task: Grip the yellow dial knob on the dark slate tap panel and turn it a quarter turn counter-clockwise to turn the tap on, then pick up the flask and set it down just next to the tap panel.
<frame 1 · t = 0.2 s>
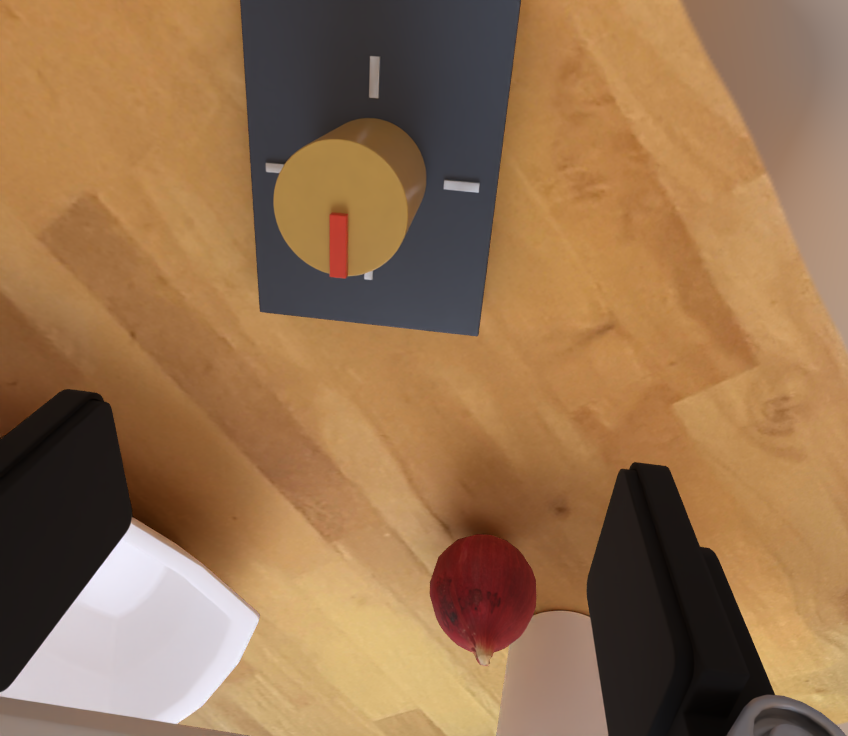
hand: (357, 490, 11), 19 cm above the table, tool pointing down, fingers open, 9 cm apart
onion: (484, 539, 37), on the table
yellow dial knob: (356, 193, 22), point 6 cm above the table, hinge at 0.0°
tap panel: (384, 163, 27), on the table
bowl: (90, 543, 41), on the table
cup: (560, 640, 41), on the table
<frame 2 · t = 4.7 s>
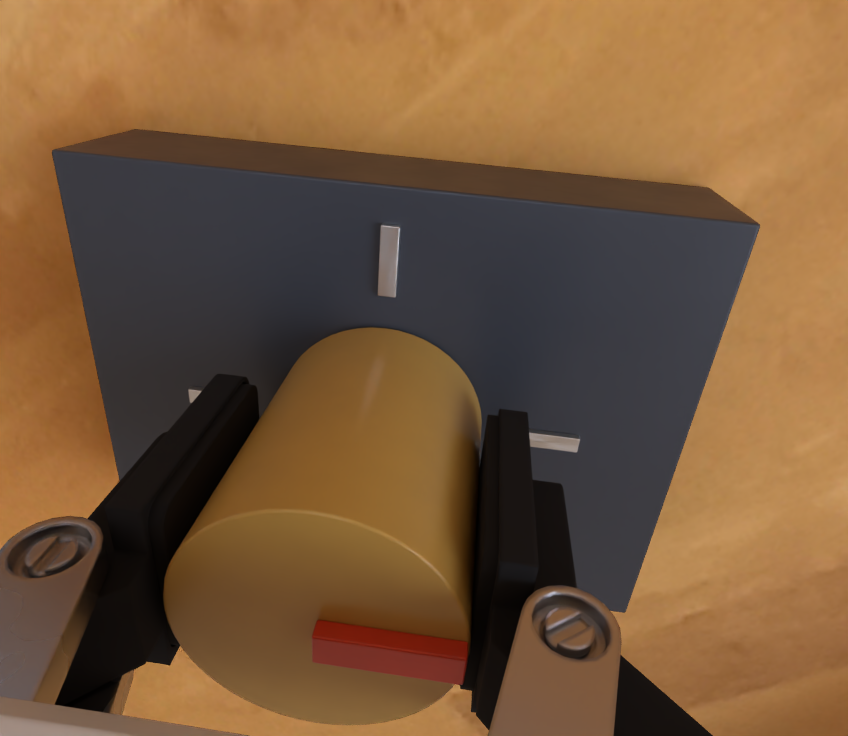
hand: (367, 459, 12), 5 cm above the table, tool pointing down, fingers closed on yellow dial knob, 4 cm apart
yellow dial knob: (352, 506, 11), point 6 cm above the table, hinge at 0.0°, touching gripper
tap panel: (400, 354, 16), on the table
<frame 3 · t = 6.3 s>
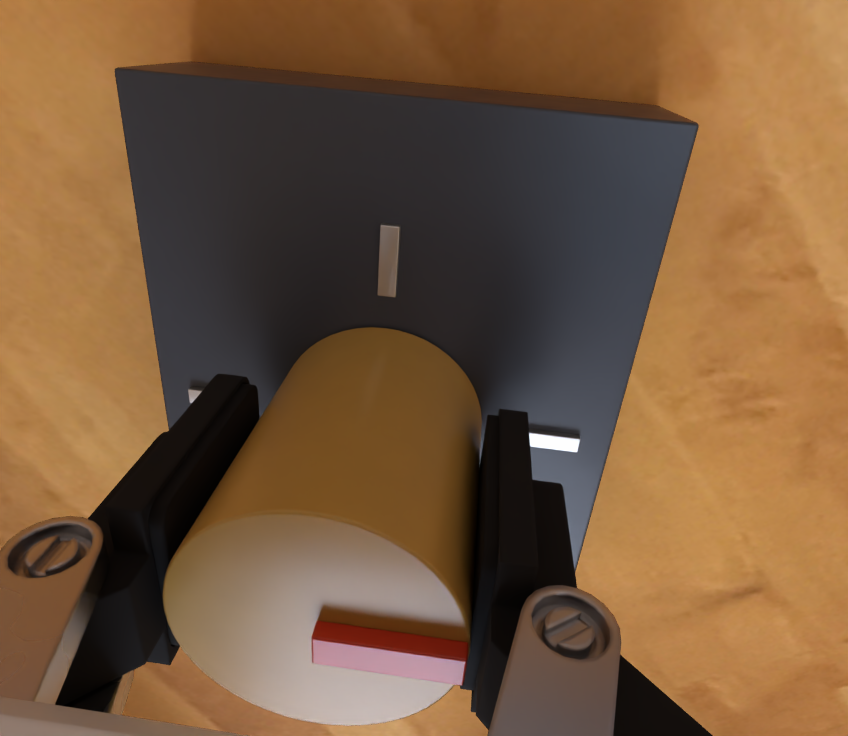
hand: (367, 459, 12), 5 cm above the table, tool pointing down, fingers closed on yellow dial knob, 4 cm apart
yellow dial knob: (352, 507, 11), point 6 cm above the table, hinge at 90.2°, touching gripper
tap panel: (400, 354, 16), on the table
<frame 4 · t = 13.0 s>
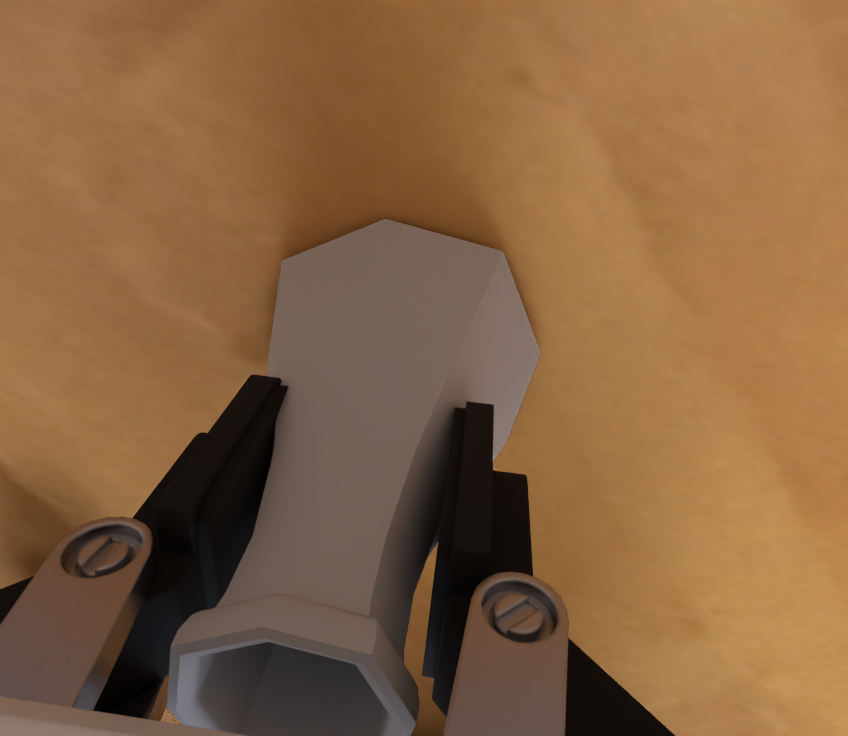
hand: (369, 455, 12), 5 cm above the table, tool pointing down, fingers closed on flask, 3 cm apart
flask: (403, 348, 16), on the table, touching gripper
when the fingers open (5 cm above the table, at t = 20.8 s): flask stays where it is, on the table.
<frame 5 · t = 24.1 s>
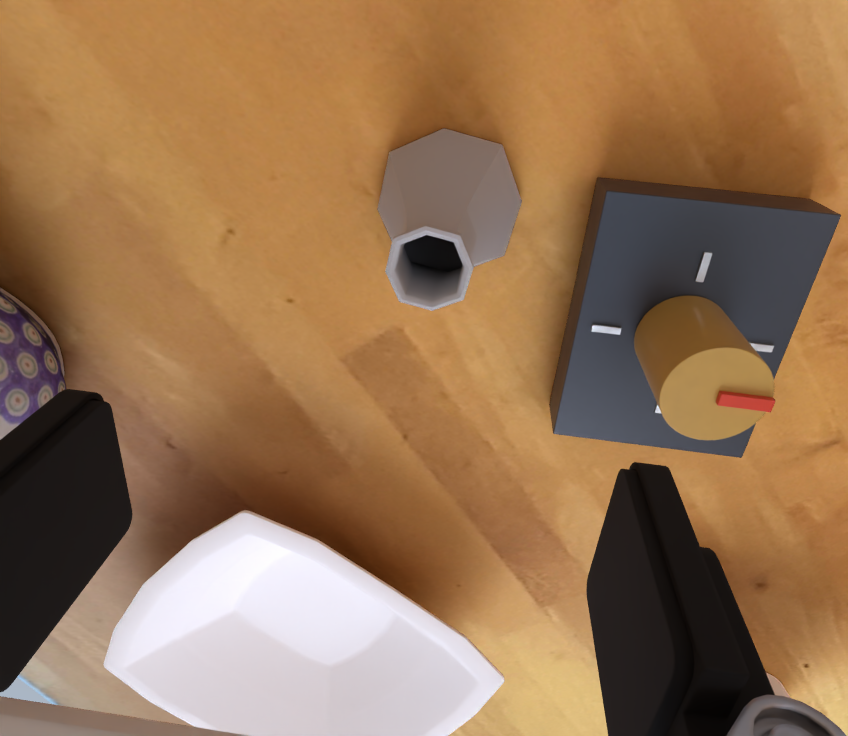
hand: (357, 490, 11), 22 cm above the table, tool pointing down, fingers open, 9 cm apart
yellow dial knob: (697, 365, 27), point 6 cm above the table, hinge at 89.7°
flask: (449, 203, 31), on the table
tap panel: (666, 312, 32), on the table
bowl: (316, 603, 46), on the table
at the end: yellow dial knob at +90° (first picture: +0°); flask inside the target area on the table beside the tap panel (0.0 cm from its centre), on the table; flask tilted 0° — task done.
